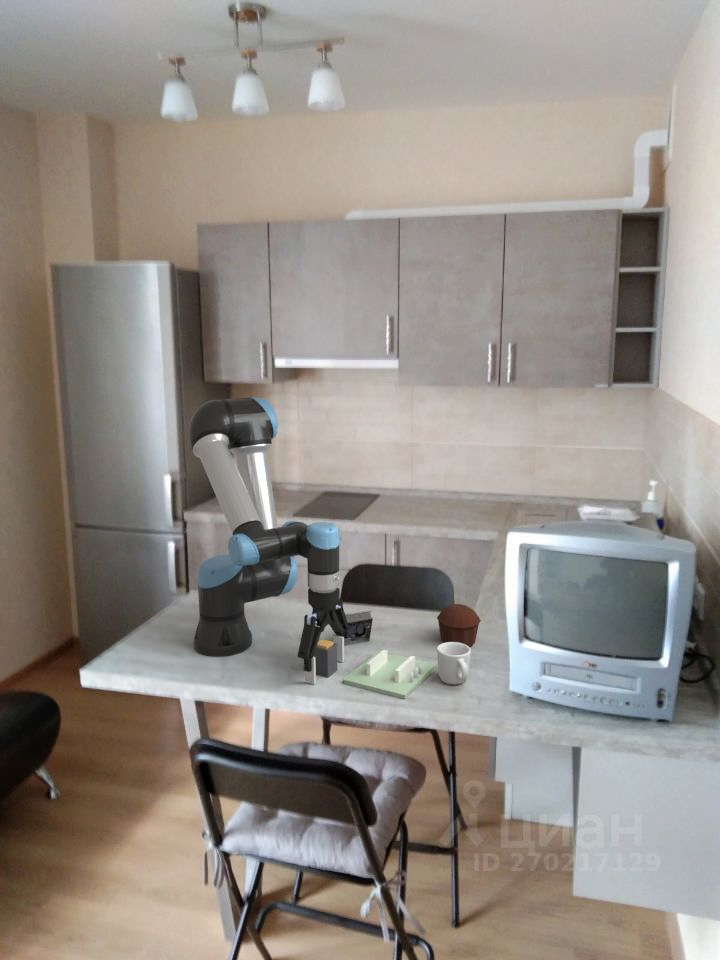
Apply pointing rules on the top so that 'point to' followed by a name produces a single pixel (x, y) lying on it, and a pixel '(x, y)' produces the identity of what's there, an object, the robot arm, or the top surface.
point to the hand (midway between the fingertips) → (324, 671)
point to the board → (390, 674)
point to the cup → (453, 662)
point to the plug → (326, 658)
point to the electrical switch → (358, 626)
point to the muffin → (458, 624)
